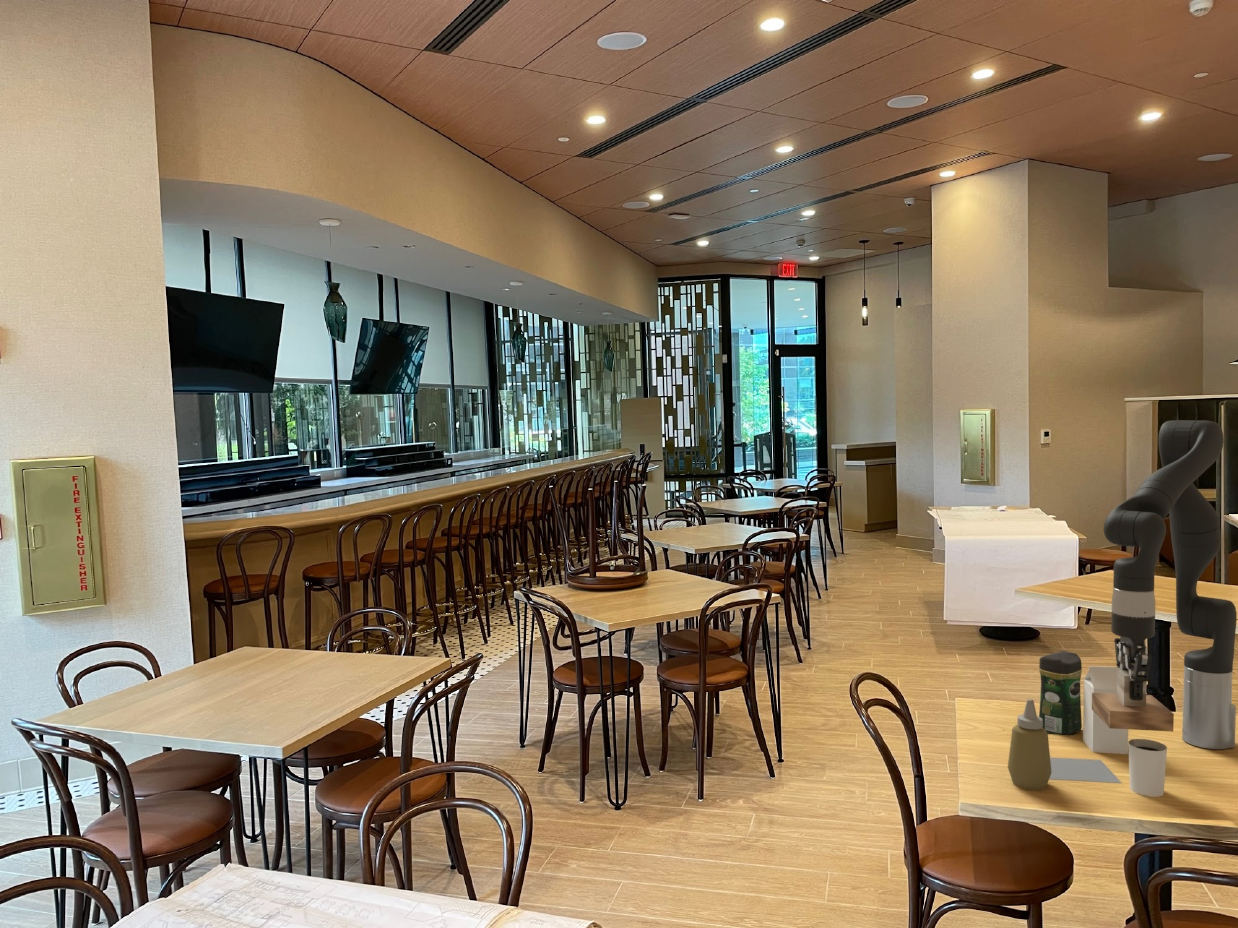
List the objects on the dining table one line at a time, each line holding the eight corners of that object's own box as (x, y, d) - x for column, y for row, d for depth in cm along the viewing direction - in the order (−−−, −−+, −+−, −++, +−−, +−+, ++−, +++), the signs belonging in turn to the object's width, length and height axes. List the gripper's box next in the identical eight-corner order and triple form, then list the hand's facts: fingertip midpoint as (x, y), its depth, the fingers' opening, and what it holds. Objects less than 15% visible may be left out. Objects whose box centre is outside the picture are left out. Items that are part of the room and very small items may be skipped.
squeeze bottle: (1001, 779, 185) (1001, 693, 184) (1040, 778, 185) (1041, 693, 184) (1017, 795, 177) (1018, 706, 176) (1058, 795, 177) (1059, 706, 176)
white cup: (1152, 786, 180) (1153, 738, 180) (1174, 801, 173) (1175, 750, 173) (1120, 787, 180) (1121, 738, 179) (1140, 801, 173) (1141, 751, 173)
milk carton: (1127, 757, 195) (1129, 672, 194) (1092, 755, 197) (1094, 670, 195) (1116, 745, 202) (1118, 662, 201) (1082, 743, 204) (1084, 661, 202)
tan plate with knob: (1151, 711, 183) (1151, 666, 182) (1173, 731, 172) (1174, 682, 171) (1091, 709, 185) (1092, 664, 184) (1109, 728, 174) (1110, 680, 173)
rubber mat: (1100, 763, 192) (1100, 759, 192) (1121, 786, 180) (1121, 782, 180) (1031, 759, 195) (1031, 756, 195) (1047, 782, 183) (1047, 778, 183)
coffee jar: (1054, 721, 218) (1055, 646, 217) (1086, 730, 212) (1088, 653, 211) (1032, 729, 213) (1033, 652, 212) (1064, 739, 206) (1065, 660, 205)
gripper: (1168, 620, 169) (1166, 708, 170) (1140, 603, 183) (1139, 685, 184) (1125, 619, 171) (1123, 706, 172) (1100, 602, 185) (1099, 684, 186)
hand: (1131, 695), depth 178 cm, fingers closed on tan plate with knob, 4 cm apart
